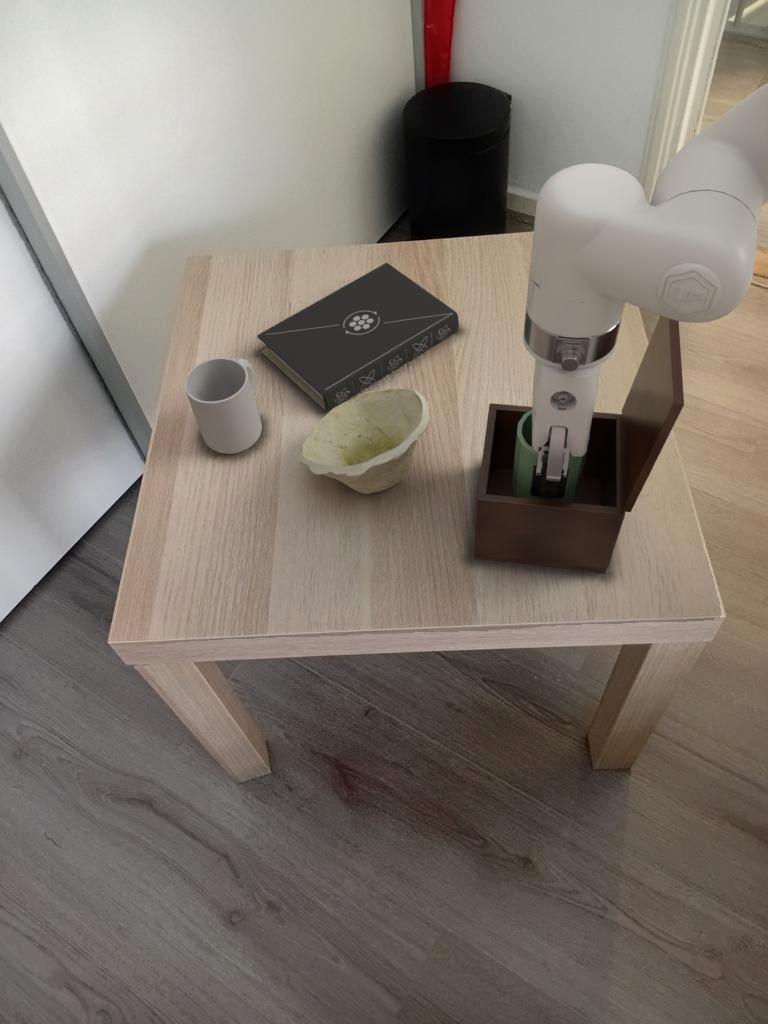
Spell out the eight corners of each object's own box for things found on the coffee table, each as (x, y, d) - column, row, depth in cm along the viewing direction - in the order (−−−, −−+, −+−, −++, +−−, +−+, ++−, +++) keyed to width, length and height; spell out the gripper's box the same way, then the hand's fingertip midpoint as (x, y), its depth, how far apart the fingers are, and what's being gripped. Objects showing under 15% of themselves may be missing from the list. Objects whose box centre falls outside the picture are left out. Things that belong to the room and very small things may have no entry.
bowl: (365, 405, 96) (358, 343, 88) (456, 459, 90) (458, 398, 82) (279, 481, 90) (263, 421, 82) (371, 544, 84) (363, 487, 76)
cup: (192, 446, 94) (171, 393, 86) (233, 389, 99) (217, 335, 92) (244, 462, 92) (227, 410, 84) (284, 404, 97) (271, 350, 90)
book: (327, 414, 95) (325, 397, 93) (260, 352, 102) (256, 335, 100) (459, 332, 102) (459, 314, 100) (387, 279, 110) (386, 261, 107)
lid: (673, 403, 59) (684, 404, 59) (667, 296, 67) (677, 297, 67) (621, 511, 71) (630, 512, 71) (621, 410, 78) (629, 411, 78)
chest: (473, 558, 82) (477, 499, 74) (485, 465, 89) (489, 402, 81) (606, 573, 80) (625, 514, 72) (607, 477, 87) (624, 414, 79)
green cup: (578, 464, 82) (590, 407, 75) (576, 515, 78) (589, 461, 71) (514, 458, 83) (520, 402, 76) (509, 509, 79) (514, 455, 72)
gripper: (619, 406, 57) (585, 541, 72) (619, 260, 67) (589, 404, 82) (516, 398, 59) (503, 532, 73) (531, 256, 69) (517, 398, 83)
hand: (548, 464), depth 77 cm, fingers closed on green cup, 6 cm apart
